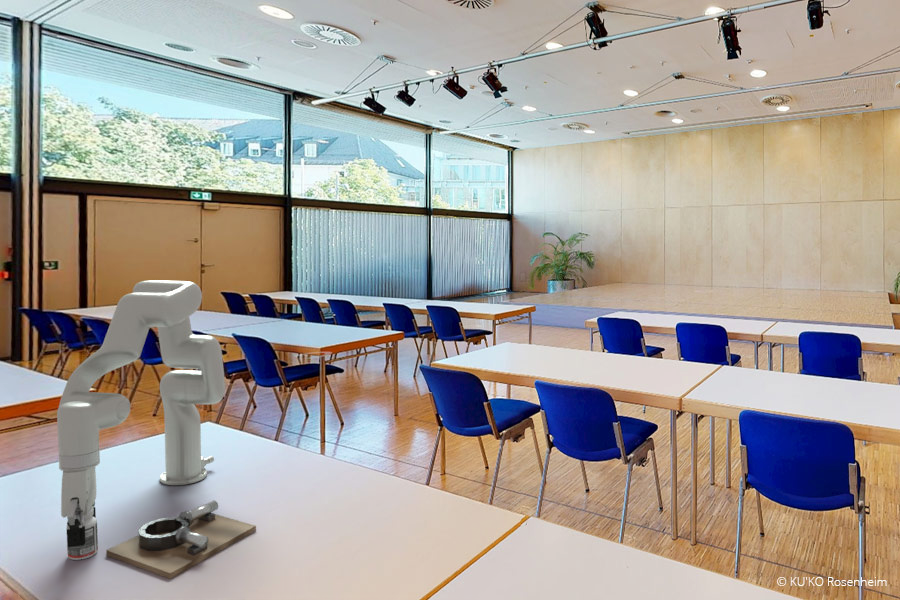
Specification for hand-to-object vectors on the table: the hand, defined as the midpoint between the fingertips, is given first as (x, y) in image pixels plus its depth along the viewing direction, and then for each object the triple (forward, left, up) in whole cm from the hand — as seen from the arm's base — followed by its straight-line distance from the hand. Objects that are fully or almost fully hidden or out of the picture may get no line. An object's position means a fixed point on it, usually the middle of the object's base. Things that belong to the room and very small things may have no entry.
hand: (82, 535), depth 133 cm
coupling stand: (-14, +15, -4) cm, 21 cm away
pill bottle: (0, 0, -5) cm, 5 cm away
